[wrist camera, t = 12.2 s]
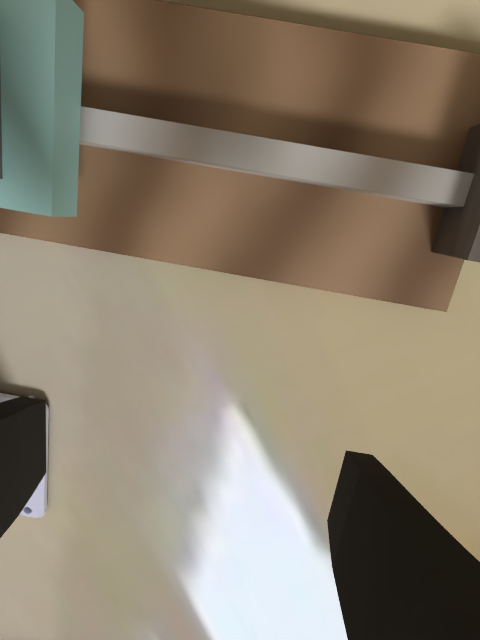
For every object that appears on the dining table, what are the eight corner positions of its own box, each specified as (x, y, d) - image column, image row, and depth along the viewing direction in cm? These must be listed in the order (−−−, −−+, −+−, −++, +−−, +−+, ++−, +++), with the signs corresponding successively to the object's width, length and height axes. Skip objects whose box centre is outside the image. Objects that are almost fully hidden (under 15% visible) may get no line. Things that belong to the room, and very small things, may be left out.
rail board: (-161, 200, 18) (-275, 196, 14) (-196, -46, 15) (-351, -134, 11) (438, 307, 18) (486, 332, 14) (516, 72, 15) (605, 22, 11)
